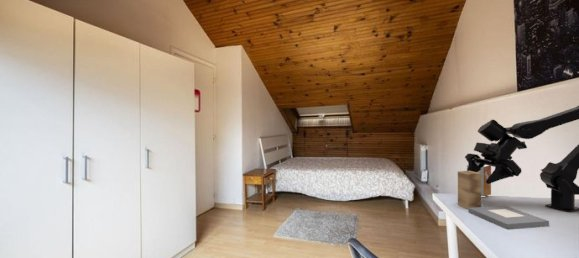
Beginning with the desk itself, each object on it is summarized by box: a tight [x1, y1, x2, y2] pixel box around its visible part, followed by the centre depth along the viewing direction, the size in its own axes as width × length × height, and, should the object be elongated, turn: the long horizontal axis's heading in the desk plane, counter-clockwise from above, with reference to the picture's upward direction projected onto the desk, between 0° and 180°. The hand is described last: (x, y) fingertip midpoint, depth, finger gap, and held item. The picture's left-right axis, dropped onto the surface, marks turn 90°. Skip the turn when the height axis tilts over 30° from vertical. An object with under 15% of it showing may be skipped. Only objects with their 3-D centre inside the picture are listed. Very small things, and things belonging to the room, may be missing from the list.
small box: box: [466, 164, 492, 199], centre depth 106 cm, size 8×6×13 cm
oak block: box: [457, 170, 482, 211], centre depth 92 cm, size 5×5×13 cm
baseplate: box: [468, 205, 550, 230], centre depth 81 cm, size 14×14×2 cm
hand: (476, 179), depth 93 cm, fingers open, 9 cm apart
